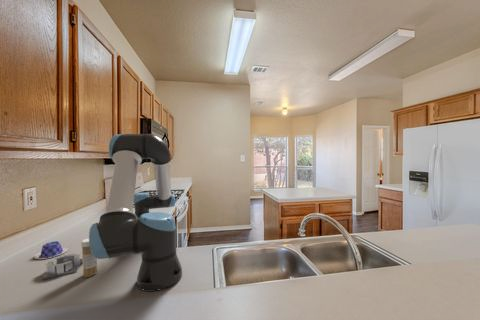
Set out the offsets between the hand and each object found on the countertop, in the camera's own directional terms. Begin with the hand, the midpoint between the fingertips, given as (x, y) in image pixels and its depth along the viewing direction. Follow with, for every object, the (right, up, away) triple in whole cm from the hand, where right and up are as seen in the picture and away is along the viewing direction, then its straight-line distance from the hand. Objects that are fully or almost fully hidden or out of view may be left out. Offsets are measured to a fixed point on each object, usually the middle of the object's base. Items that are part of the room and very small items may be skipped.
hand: (106, 243), depth 90 cm
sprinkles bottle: (0, -8, -10) cm, 13 cm away
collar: (-13, -8, -6) cm, 17 cm away
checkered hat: (-32, -9, +9) cm, 34 cm away
